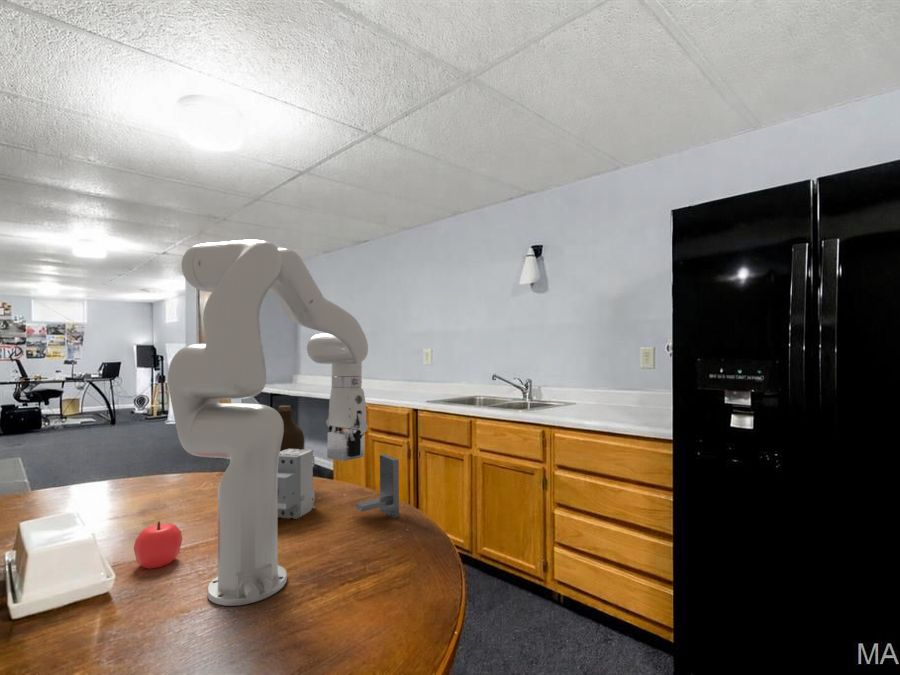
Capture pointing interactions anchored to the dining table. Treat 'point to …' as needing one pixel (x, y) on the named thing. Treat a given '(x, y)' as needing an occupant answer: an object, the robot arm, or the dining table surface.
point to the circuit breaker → (295, 483)
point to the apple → (158, 545)
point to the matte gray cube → (342, 445)
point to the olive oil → (290, 431)
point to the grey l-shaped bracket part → (386, 489)
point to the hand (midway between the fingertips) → (345, 453)
